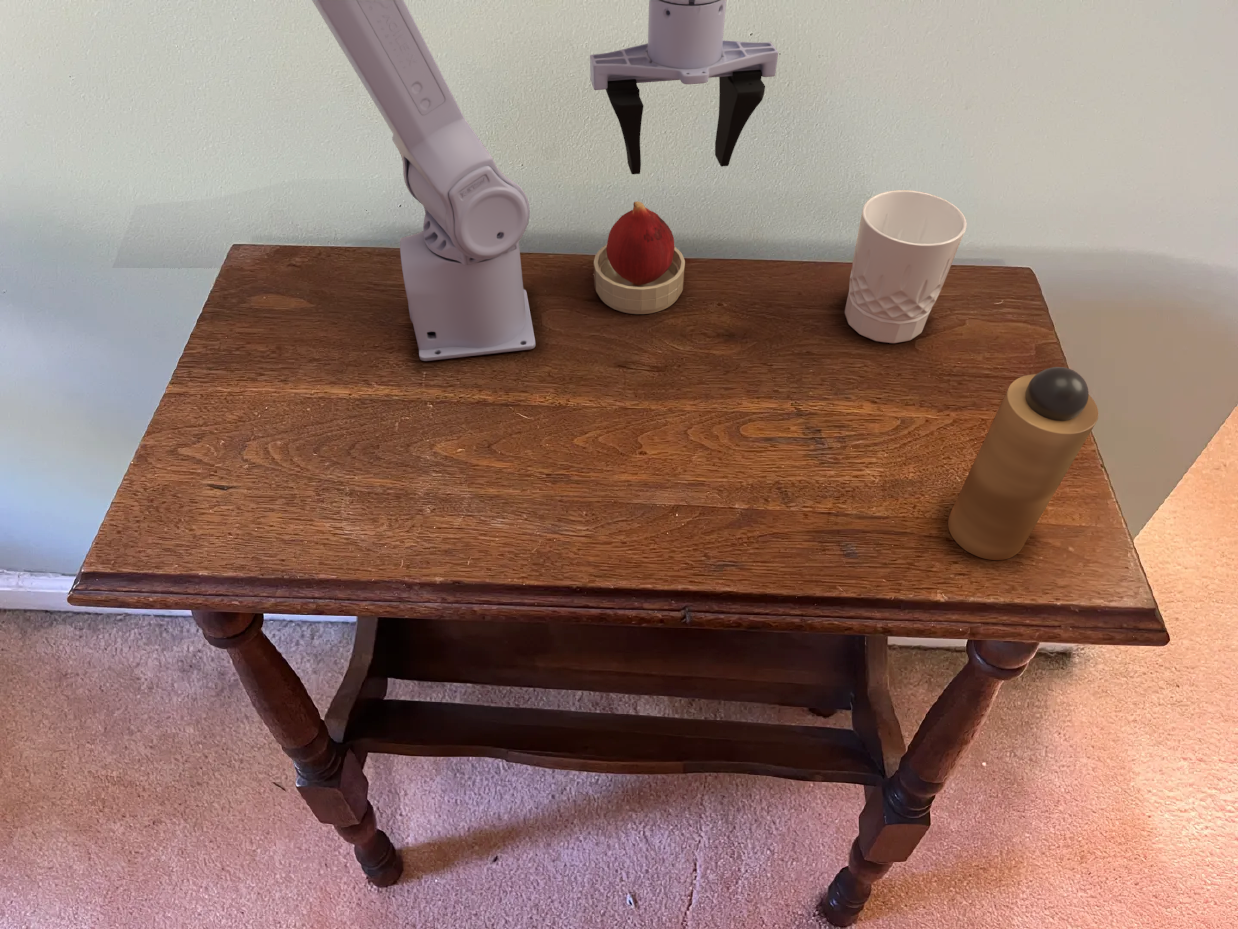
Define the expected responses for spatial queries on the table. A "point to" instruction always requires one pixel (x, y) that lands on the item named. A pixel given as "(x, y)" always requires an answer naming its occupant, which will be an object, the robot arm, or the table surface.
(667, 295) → the bowl
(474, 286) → the robot arm
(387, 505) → the table surface
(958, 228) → the white cup
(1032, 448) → the pepper mill
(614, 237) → the onion
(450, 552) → the table surface
